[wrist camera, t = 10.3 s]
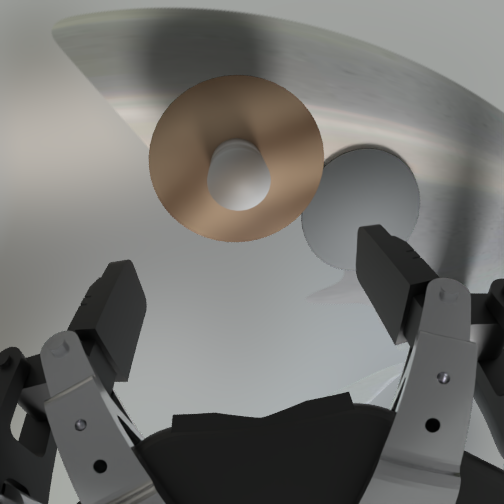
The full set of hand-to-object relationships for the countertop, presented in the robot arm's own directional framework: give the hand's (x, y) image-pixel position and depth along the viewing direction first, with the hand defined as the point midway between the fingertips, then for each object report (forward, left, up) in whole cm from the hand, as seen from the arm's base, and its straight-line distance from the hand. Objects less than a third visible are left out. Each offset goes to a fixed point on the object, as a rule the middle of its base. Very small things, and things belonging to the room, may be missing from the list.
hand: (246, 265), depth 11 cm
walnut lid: (0, 0, -16) cm, 16 cm away
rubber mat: (-17, -8, -25) cm, 31 cm away
